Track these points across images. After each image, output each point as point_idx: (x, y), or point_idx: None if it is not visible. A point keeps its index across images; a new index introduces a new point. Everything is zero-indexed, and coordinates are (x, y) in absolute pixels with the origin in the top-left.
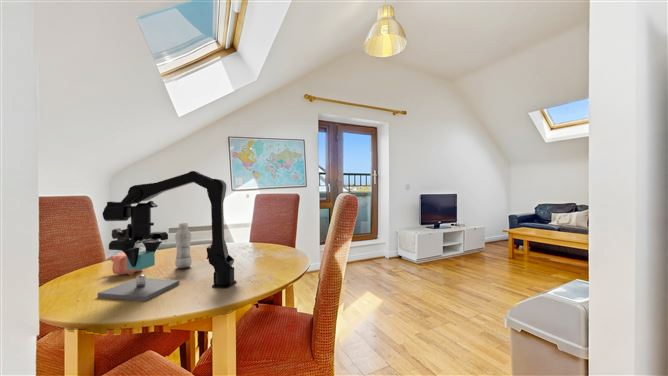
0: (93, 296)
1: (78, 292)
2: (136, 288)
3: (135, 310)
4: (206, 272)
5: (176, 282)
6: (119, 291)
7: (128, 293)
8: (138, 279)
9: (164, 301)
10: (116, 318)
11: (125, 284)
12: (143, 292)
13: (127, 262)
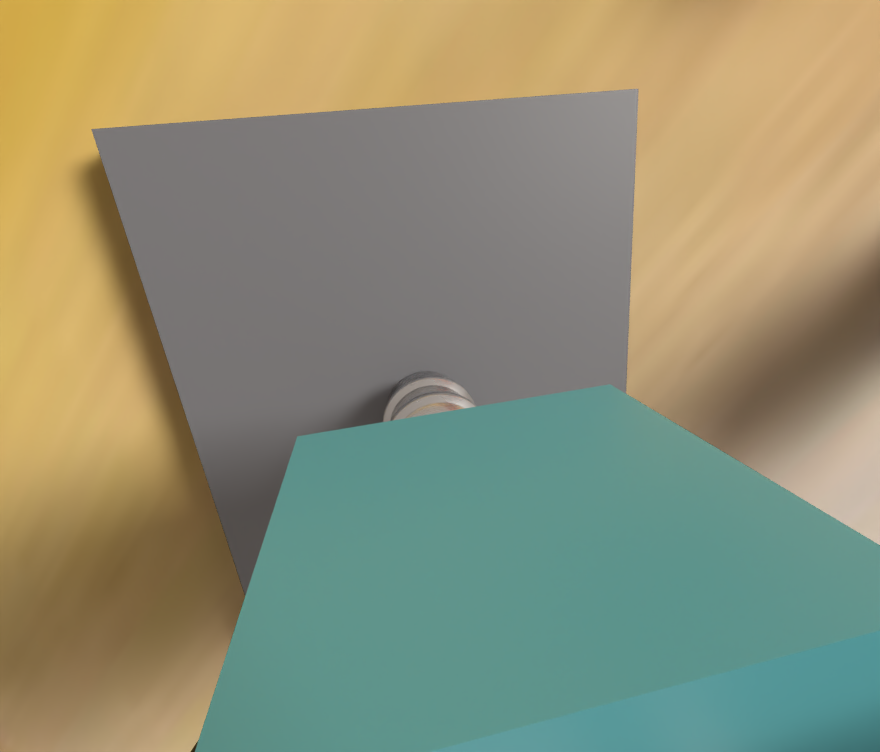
0: (116, 45)
1: None
2: (368, 421)
3: (143, 691)
4: (856, 508)
5: None
6: (244, 343)
7: (250, 475)
8: None
9: None
10: (2, 706)
11: (418, 182)
12: None
13: (273, 539)
